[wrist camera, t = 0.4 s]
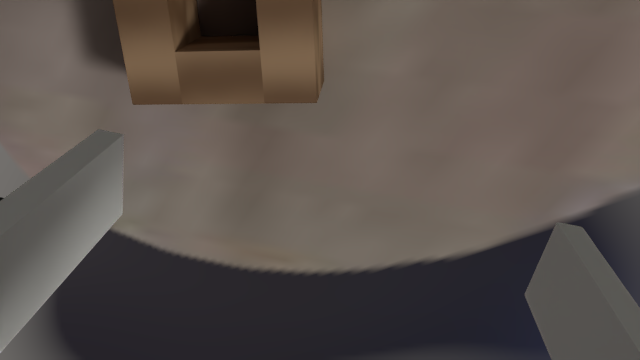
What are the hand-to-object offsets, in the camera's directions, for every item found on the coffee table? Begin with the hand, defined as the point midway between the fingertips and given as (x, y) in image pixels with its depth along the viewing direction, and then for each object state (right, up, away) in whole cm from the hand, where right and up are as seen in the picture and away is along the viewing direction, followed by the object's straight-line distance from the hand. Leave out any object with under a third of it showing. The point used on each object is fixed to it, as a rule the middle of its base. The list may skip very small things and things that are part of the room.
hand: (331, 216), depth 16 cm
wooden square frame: (-7, +15, +23) cm, 28 cm away
